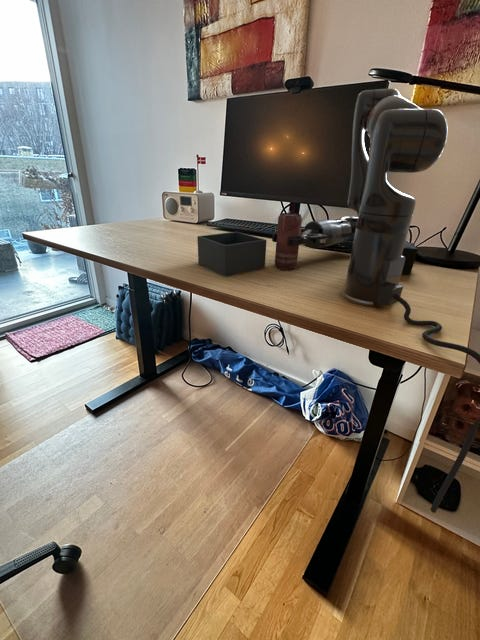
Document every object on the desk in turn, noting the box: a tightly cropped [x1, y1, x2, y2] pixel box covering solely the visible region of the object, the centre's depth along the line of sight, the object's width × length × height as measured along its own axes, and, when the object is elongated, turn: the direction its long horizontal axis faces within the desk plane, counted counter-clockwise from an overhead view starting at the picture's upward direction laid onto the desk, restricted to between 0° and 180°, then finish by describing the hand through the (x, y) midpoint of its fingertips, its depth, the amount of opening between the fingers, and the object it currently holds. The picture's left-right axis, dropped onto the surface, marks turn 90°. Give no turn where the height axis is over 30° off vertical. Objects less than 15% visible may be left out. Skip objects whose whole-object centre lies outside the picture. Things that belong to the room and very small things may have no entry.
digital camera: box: [401, 240, 419, 275], centre depth 82 cm, size 10×5×7 cm, turn 168°
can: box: [274, 212, 303, 271], centre depth 80 cm, size 6×6×14 cm
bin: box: [196, 231, 268, 277], centre depth 81 cm, size 13×13×8 cm
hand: (280, 239), depth 78 cm, fingers open, 5 cm apart
